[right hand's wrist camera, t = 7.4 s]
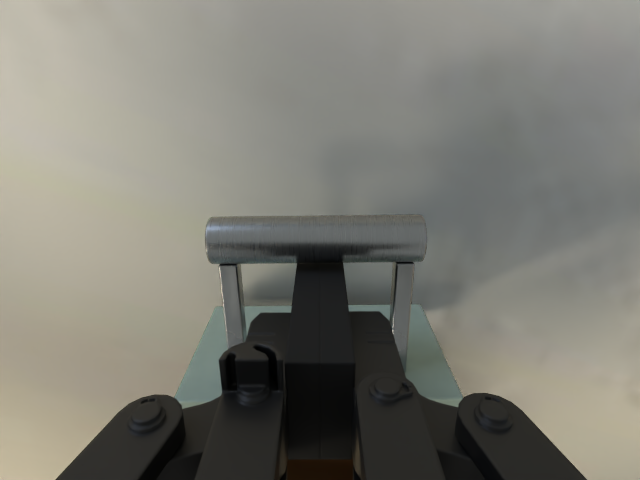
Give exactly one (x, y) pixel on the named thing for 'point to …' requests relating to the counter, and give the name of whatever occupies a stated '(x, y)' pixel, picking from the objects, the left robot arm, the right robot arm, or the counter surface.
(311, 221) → the drawer
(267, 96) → the counter surface
